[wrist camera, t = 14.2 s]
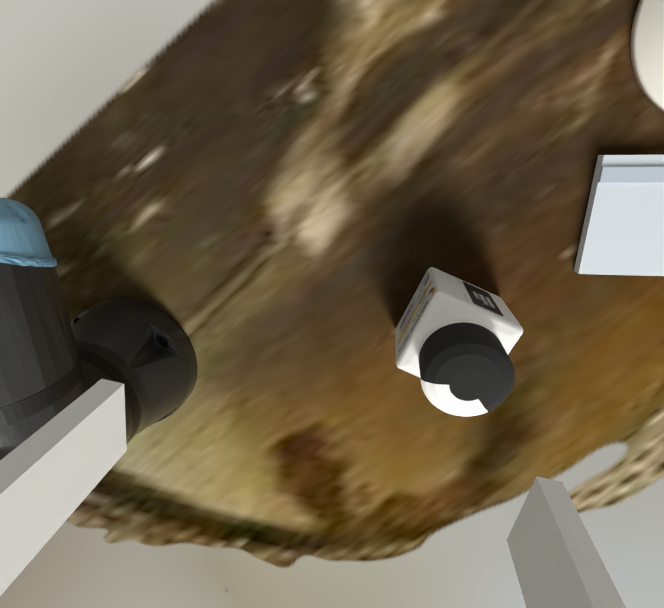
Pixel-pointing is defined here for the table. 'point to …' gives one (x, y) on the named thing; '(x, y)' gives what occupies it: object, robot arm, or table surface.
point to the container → (458, 344)
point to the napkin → (624, 217)
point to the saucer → (649, 50)
